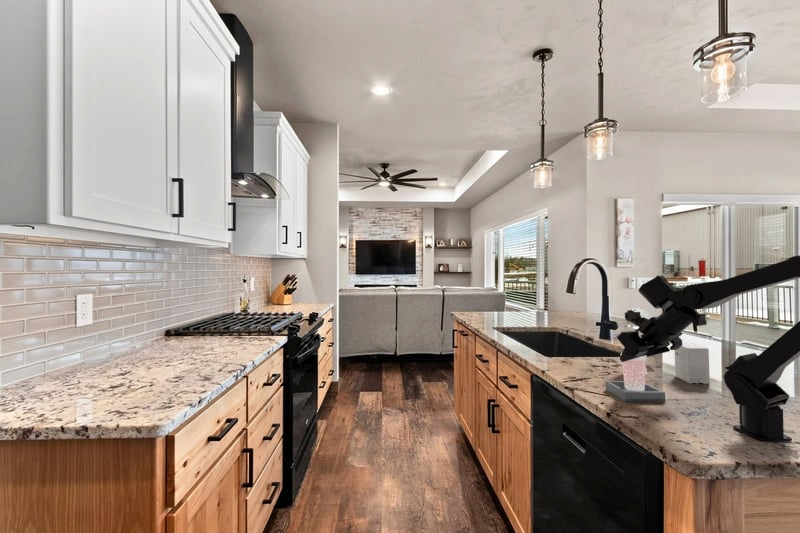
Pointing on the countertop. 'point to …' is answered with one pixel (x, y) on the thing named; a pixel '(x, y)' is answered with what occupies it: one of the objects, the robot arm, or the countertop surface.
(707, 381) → the small box
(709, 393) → the countertop surface
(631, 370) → the beverage cup
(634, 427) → the countertop surface
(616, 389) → the tray
